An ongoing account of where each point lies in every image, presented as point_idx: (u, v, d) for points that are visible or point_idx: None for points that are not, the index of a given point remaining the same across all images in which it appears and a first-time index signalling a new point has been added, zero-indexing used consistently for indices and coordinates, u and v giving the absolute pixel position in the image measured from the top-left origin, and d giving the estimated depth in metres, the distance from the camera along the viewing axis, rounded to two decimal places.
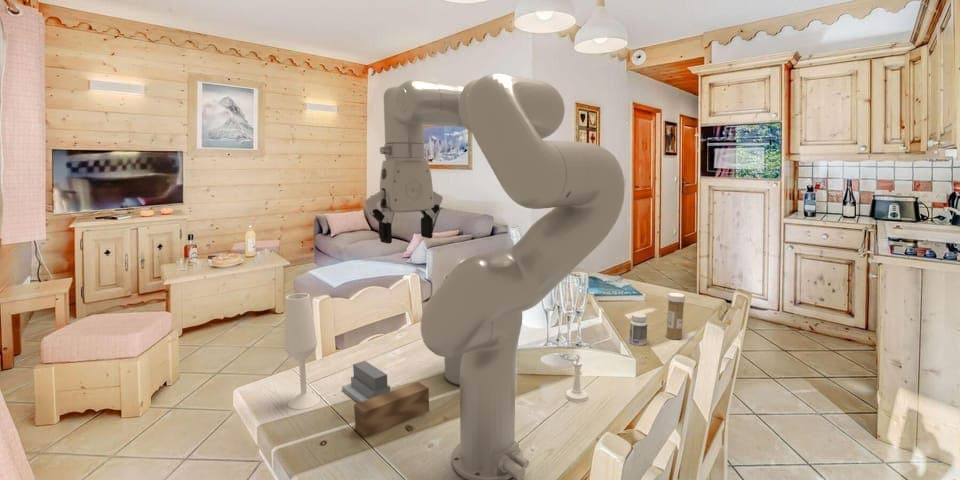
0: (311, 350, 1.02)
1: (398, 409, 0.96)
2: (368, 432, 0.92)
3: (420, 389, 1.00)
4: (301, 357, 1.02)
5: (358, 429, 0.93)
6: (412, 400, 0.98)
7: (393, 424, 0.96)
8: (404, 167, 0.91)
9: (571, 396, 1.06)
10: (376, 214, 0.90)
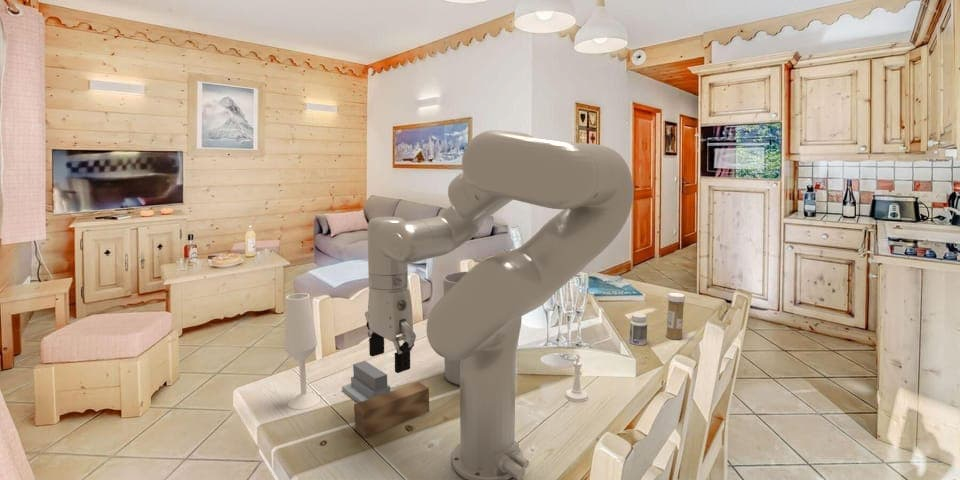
0: (311, 350, 1.02)
1: (398, 409, 0.96)
2: (368, 432, 0.92)
3: (420, 389, 1.00)
4: (301, 357, 1.02)
5: (358, 429, 0.94)
6: (412, 400, 0.98)
7: (393, 424, 0.96)
8: None
9: (571, 396, 1.06)
10: None
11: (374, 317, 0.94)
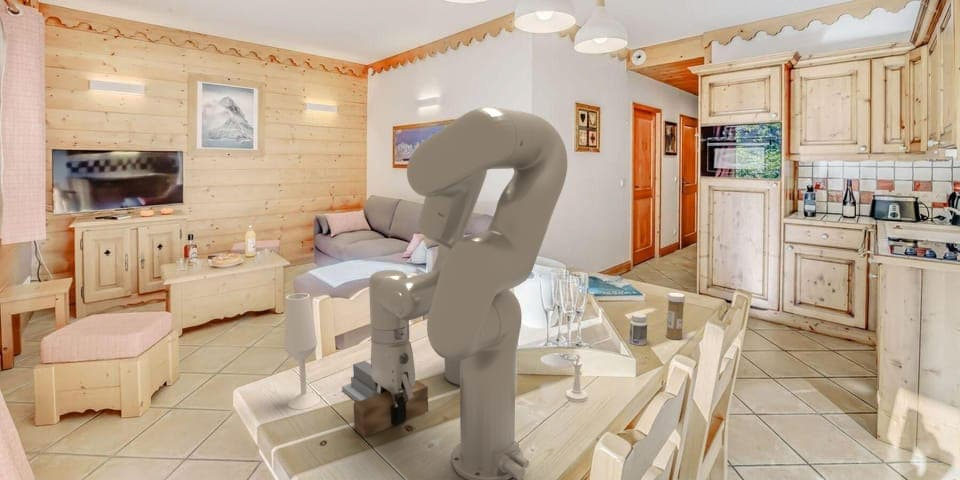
0: (311, 350, 1.02)
1: None
2: (367, 431, 0.92)
3: (419, 388, 1.00)
4: (301, 357, 1.02)
5: (357, 428, 0.94)
6: None
7: None
8: None
9: (571, 396, 1.06)
10: None
11: (377, 369, 0.96)
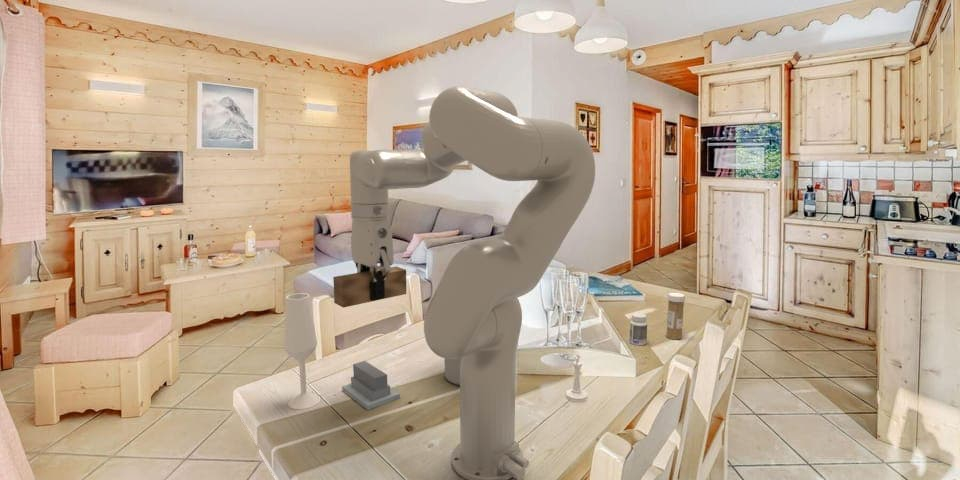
0: (311, 350, 1.02)
1: None
2: (346, 301, 0.96)
3: (398, 270, 1.04)
4: (301, 357, 1.02)
5: (337, 300, 0.97)
6: (389, 278, 1.02)
7: None
8: None
9: (571, 396, 1.06)
10: None
11: (357, 247, 0.99)
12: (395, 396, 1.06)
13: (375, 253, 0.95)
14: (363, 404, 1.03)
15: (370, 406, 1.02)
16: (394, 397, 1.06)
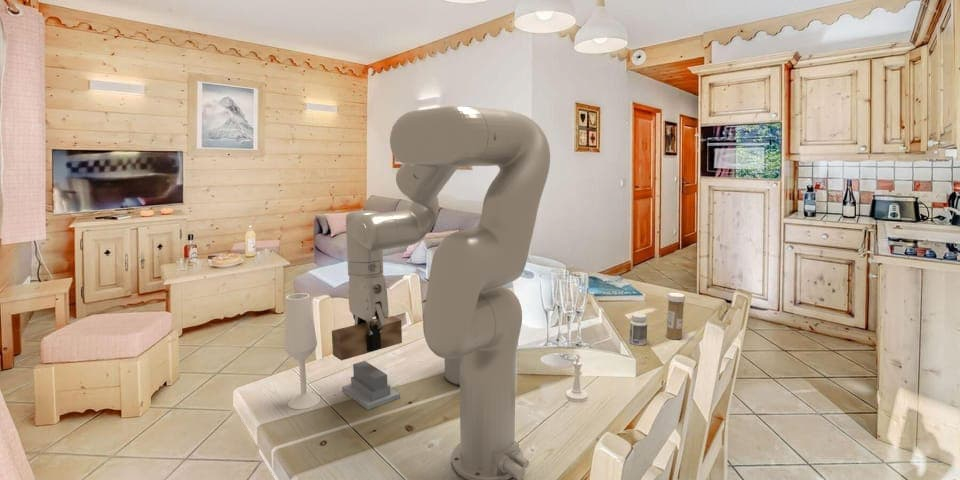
0: (311, 350, 1.02)
1: None
2: (344, 355, 1.01)
3: (393, 321, 1.09)
4: (301, 357, 1.02)
5: (335, 353, 1.03)
6: (385, 329, 1.07)
7: None
8: None
9: (571, 396, 1.06)
10: None
11: (353, 301, 1.05)
12: (395, 396, 1.06)
13: (371, 308, 1.01)
14: (363, 404, 1.03)
15: (370, 406, 1.02)
16: (394, 397, 1.06)
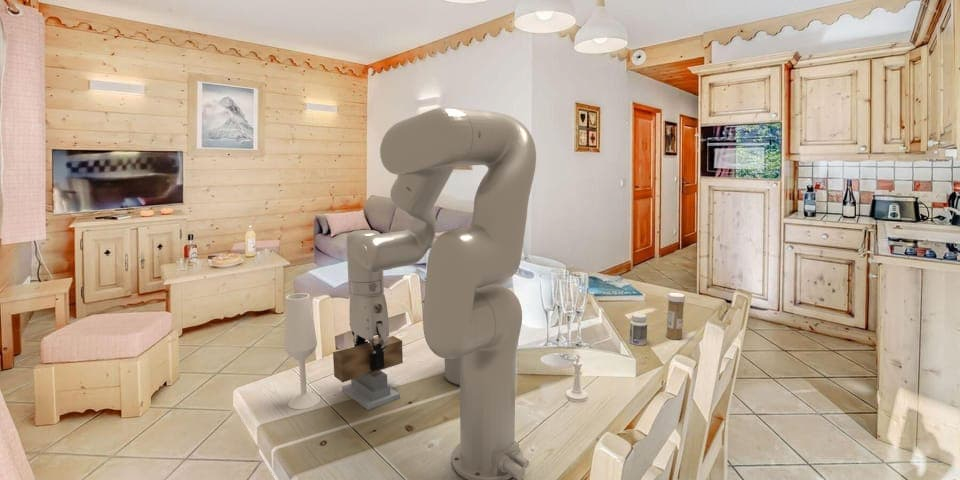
0: (311, 350, 1.02)
1: None
2: (345, 376, 1.02)
3: (394, 341, 1.10)
4: (301, 357, 1.02)
5: (336, 374, 1.03)
6: (386, 350, 1.08)
7: (369, 371, 1.05)
8: None
9: (571, 396, 1.06)
10: None
11: (354, 320, 1.05)
12: (395, 396, 1.06)
13: (371, 328, 1.01)
14: (363, 404, 1.03)
15: (370, 406, 1.02)
16: (394, 397, 1.06)
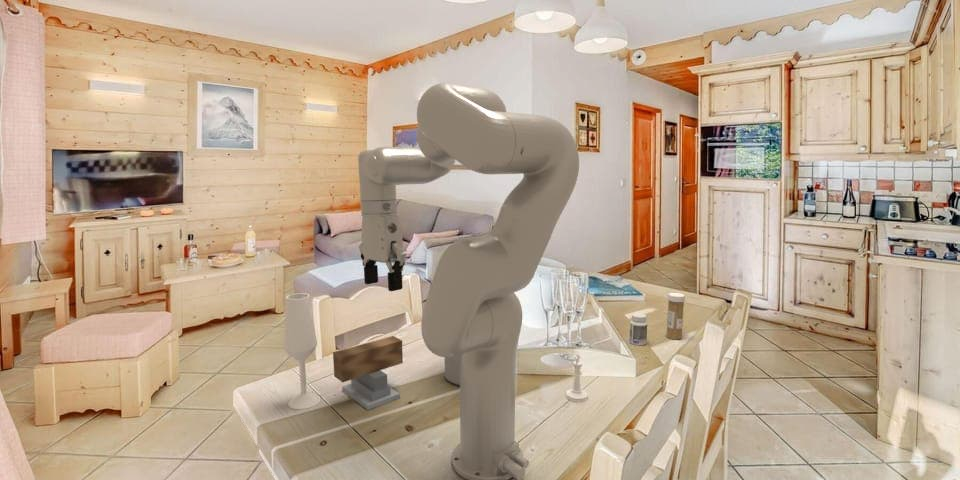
0: (311, 350, 1.02)
1: (373, 357, 1.06)
2: (345, 376, 1.02)
3: (394, 341, 1.10)
4: (301, 357, 1.02)
5: (336, 374, 1.03)
6: (386, 350, 1.08)
7: (369, 371, 1.05)
8: None
9: (571, 396, 1.06)
10: None
11: (367, 243, 1.03)
12: (395, 396, 1.06)
13: (386, 247, 0.99)
14: (363, 404, 1.03)
15: (370, 406, 1.02)
16: (394, 397, 1.06)
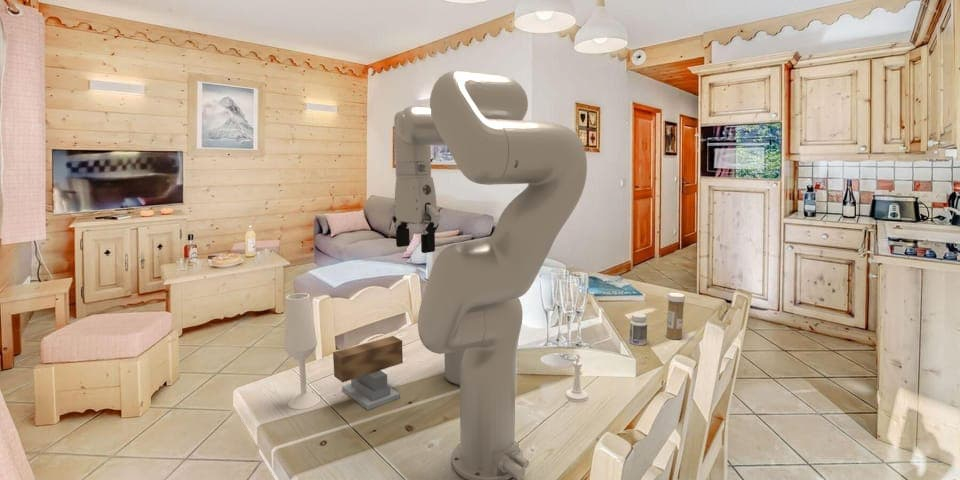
0: (311, 350, 1.02)
1: (373, 357, 1.06)
2: (345, 376, 1.02)
3: (394, 341, 1.10)
4: (301, 357, 1.02)
5: (336, 374, 1.03)
6: (386, 350, 1.08)
7: (369, 371, 1.05)
8: None
9: (571, 396, 1.06)
10: None
11: (401, 205, 1.03)
12: (395, 396, 1.06)
13: (420, 209, 0.99)
14: (363, 404, 1.03)
15: (370, 406, 1.02)
16: (394, 397, 1.06)
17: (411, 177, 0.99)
